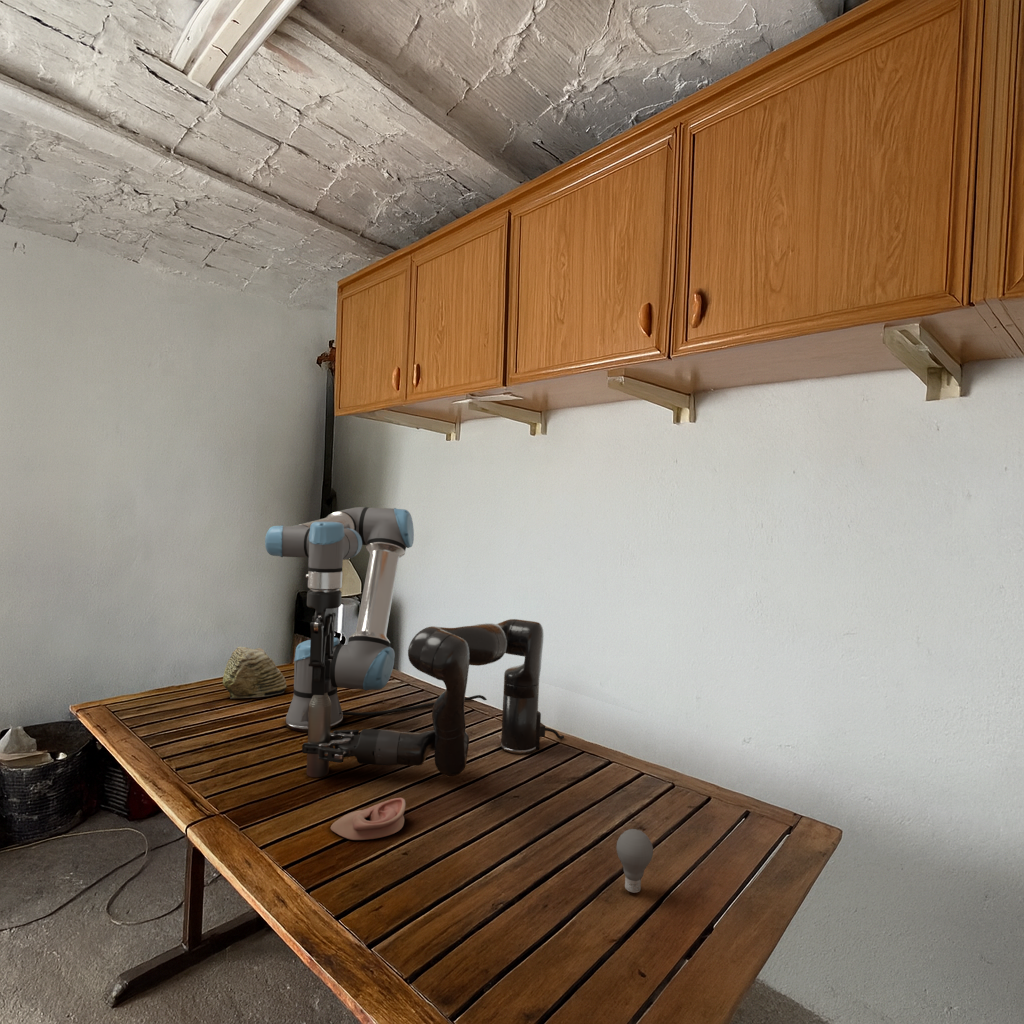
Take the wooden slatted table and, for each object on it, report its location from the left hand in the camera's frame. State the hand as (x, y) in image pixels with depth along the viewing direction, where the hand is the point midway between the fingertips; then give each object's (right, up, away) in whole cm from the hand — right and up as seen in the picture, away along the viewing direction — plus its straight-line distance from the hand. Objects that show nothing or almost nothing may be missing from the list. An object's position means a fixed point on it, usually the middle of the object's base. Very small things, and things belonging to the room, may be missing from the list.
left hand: (320, 691), depth 145 cm
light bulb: (+64, -22, -39) cm, 78 cm away
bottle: (-1, -19, 0) cm, 19 cm away
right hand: (-3, -12, 0) cm, 12 cm away
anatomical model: (+16, -20, -22) cm, 34 cm away
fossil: (-37, -16, +53) cm, 67 cm away
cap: (0, +2, 0) cm, 2 cm away
